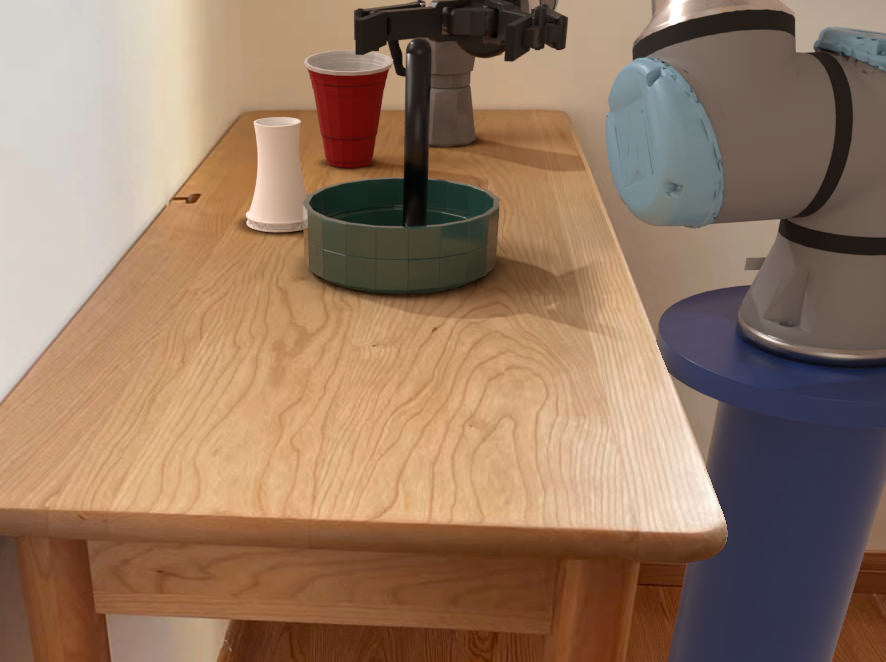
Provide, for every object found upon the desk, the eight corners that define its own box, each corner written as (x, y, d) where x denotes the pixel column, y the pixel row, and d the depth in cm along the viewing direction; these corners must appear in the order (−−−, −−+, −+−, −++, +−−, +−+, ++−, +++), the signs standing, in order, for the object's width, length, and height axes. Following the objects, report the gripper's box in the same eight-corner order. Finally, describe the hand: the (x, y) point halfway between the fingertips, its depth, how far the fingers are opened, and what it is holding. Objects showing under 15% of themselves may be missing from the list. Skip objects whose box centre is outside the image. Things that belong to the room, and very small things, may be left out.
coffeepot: (499, 136, 155) (509, -17, 144) (478, 150, 148) (486, -9, 137) (395, 128, 160) (397, -20, 149) (370, 141, 153) (370, -13, 142)
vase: (243, 215, 124) (237, 115, 118) (311, 211, 125) (308, 112, 119) (250, 234, 118) (244, 130, 112) (321, 230, 119) (319, 127, 113)
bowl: (496, 241, 115) (501, 178, 111) (493, 300, 100) (498, 230, 97) (320, 237, 117) (318, 175, 113) (291, 294, 102) (289, 225, 99)
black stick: (438, 261, 108) (446, 34, 96) (435, 276, 104) (444, 41, 93) (392, 260, 108) (395, 33, 97) (388, 275, 105) (390, 41, 93)
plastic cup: (309, 174, 138) (306, 65, 131) (304, 154, 147) (301, 51, 140) (397, 172, 139) (399, 62, 132) (387, 152, 148) (388, 48, 141)
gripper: (613, 58, 113) (571, 95, 97) (377, 48, 120) (301, 81, 104) (623, -30, 108) (580, -6, 92) (377, -35, 115) (298, -14, 99)
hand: (432, 40), depth 98 cm, fingers open, 13 cm apart
